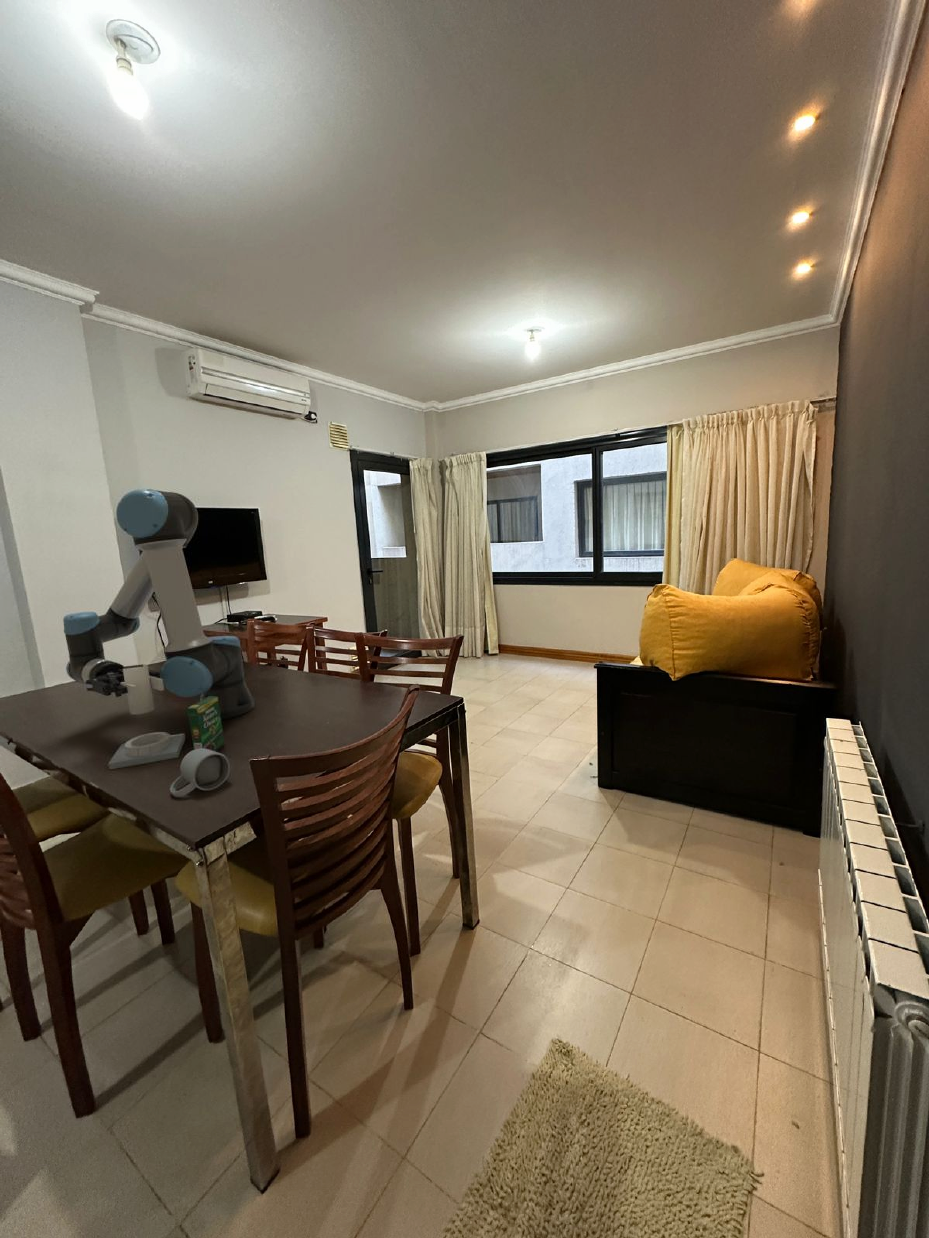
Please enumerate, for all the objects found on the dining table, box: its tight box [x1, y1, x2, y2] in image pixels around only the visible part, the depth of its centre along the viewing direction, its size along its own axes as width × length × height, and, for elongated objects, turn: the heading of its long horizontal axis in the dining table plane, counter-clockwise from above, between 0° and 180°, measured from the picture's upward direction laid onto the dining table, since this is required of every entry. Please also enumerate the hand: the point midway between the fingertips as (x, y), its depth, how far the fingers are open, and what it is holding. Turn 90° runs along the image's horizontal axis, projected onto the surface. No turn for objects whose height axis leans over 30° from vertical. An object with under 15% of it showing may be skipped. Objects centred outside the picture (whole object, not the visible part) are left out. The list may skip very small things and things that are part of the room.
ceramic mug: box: [169, 748, 231, 798], centre depth 104 cm, size 11×8×8 cm
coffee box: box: [187, 696, 225, 752], centre depth 120 cm, size 8×3×13 cm, turn 171°
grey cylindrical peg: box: [123, 663, 155, 715], centre depth 119 cm, size 5×5×11 cm
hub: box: [108, 731, 186, 770], centre depth 122 cm, size 14×12×4 cm
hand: (148, 688), depth 116 cm, fingers closed on grey cylindrical peg, 5 cm apart
